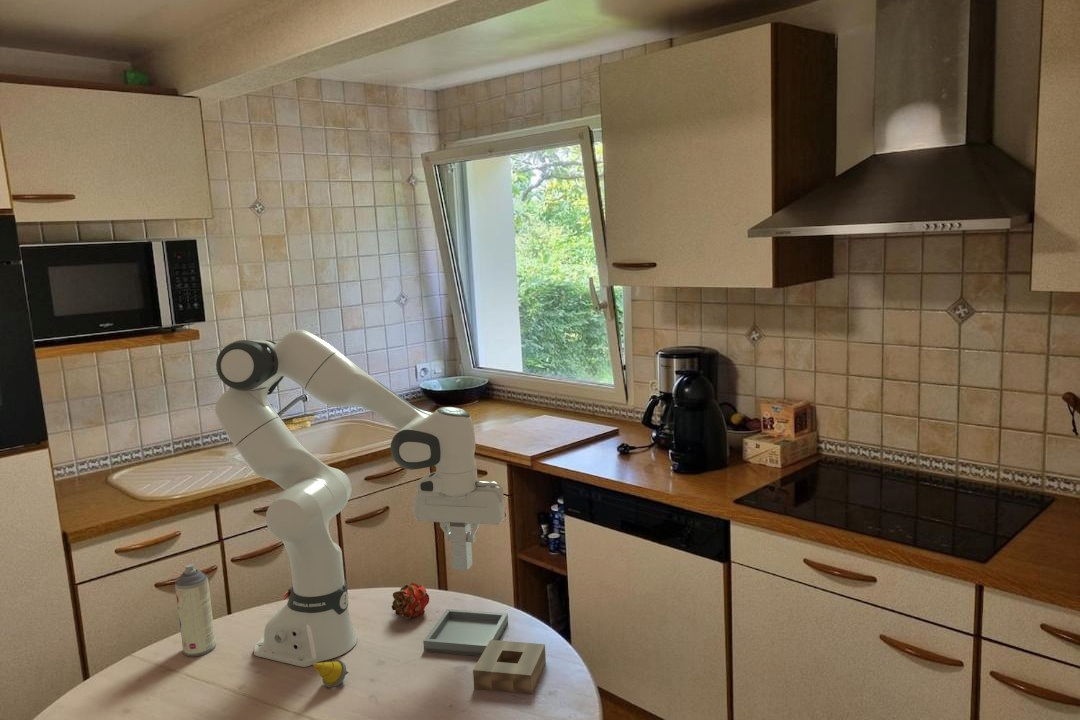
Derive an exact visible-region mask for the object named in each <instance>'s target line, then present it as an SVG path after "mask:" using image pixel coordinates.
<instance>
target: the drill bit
mask: <svg viewBox="0 0 1080 720" xmlns="http://www.w3.org/2000/svg"><path fill="white" fill-rule="evenodd" d="M312 666H313V667H314V669H315V670H316V671H317V673H318V674H319V676H320V677H321V678H322V682H323V684H324V686H326V687H328V688H330V689H334V688H337V687H338V686H340V685H341V684H342V683H343V681H344V679H345V678H346V676H347V674H349V671H347V666H346V663H345V662H344V661H341V660H340V659H333V660H332V661H325V662H324V661H322V662H317V663H314V664H312Z"/></svg>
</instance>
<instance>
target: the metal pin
mask: <svg viewBox="0 0 1080 720" xmlns="http://www.w3.org/2000/svg"><path fill="white" fill-rule="evenodd" d="M449 528H450V537H451V541H450V548H451V550H450V551H451V565H452V566H451V567H452V570H456V571H457V570H458V571H469V569H470V568H471V567H472V565H474V564H473V549H472V542H467V534H468V533H469V532H472V531H471V530H472V528H471V524H468V523H458V522H450V523H449Z"/></svg>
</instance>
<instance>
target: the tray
mask: <svg viewBox="0 0 1080 720" xmlns="http://www.w3.org/2000/svg"><path fill="white" fill-rule="evenodd" d="M508 615H509V614H508V613H507V612H497V611H481V610H467V609H455V608H454V609H453V608H452V609H451V608H446V609H445V611H444V613H443V614H442V615H441V616H440V617H439V619H438V620H437V622H436V623H435V624H434V626H433V627H432V628H431V630H430V631H429V632H428V633H427V635H426V636H425V638H424V639H423V641H422V643H423V652H427V653H438V654H439V653H441V654H451V655H462V656H473V657H474V656H475V657H481V655H482V654H483V652H484V650H485V648H486V647H487V645H488V643H489V642H490V640H498V641H500V639H501V637H502V636H503V633H504V632H505V630H506V628H507V626H508V624H509V616H508Z"/></svg>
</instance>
